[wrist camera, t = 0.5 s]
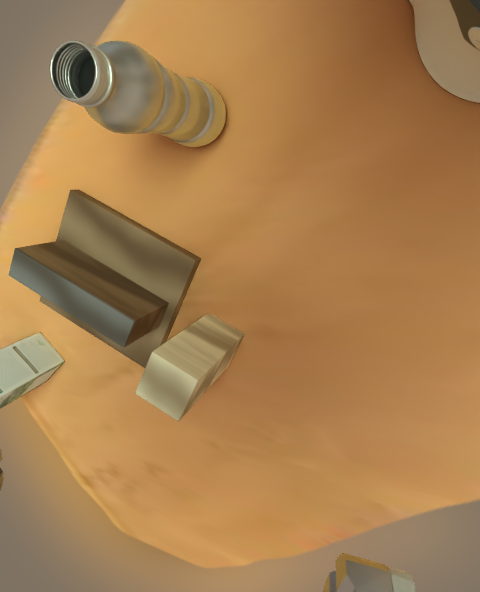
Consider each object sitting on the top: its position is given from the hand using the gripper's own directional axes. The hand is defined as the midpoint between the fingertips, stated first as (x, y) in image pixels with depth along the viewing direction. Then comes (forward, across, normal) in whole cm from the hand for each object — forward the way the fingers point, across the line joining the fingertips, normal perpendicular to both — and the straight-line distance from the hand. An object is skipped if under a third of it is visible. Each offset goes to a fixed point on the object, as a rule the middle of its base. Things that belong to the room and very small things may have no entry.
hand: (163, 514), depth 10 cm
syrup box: (+40, +28, +32) cm, 58 cm away
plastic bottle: (+42, +11, -4) cm, 43 cm away
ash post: (+36, +3, +19) cm, 41 cm away
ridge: (+40, +18, +17) cm, 46 cm away
